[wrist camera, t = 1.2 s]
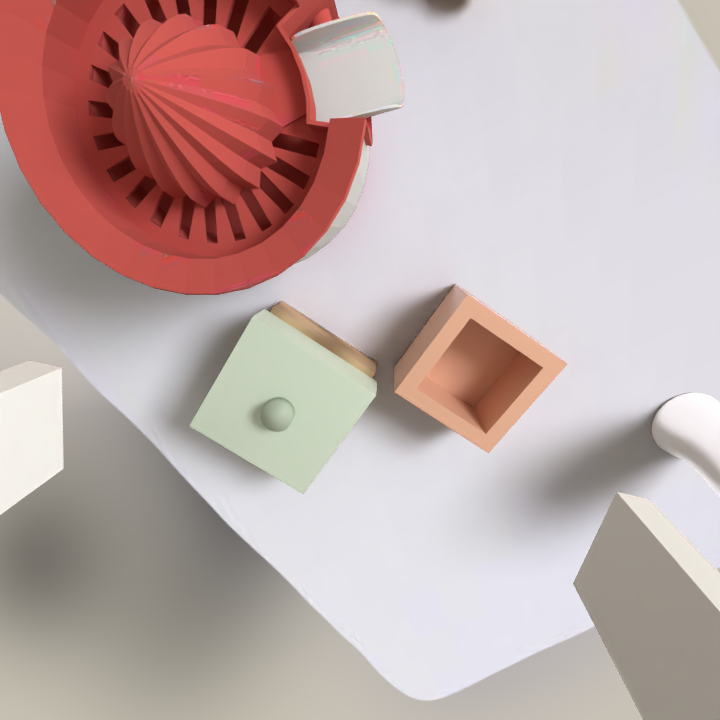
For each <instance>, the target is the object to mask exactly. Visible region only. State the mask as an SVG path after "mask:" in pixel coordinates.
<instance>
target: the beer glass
mask: <svg viewBox="0 0 720 720" xmlns="http://www.w3.org/2000/svg"><path fill="white" fill-rule="evenodd" d="M652 436H653V438H654V440H655V442H656V444H657V445H658V446H659V447H660V448H661V449H663V450H664V451H666V452H668V453H670V454H672V455H674V456H676V457H678V458H680V459H682V460H684V461H685V462H687V463H688V464H689V465H691V466H692V467H693V468H694V469H695V470H696V471H697V472H698V473H699V475H700V476H701V477H702V478H703V479H704V480H705V482H706V483H707V484H708V485H709V487H710V488H711V489H712V490H713V491H714V493H715V494H716V495H717V496H718V497H719V499H720V402H719V401H718V400H717V399H715V398H714V397H712V396H710V395H707V394H703V393H686V394H682V395H679V396H677V397H674V398H672V399H671V400H669V401H668V402H666V403H665V404H664V405H663V406H662V407H661V408H660V409H659V410H658V412H657V413H656V415H655V417H654V419H653V422H652Z"/></svg>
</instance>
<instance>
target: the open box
mask: <svg viewBox="0 0 720 720" xmlns="http://www.w3.org/2000/svg"><path fill="white" fill-rule="evenodd" d="M566 365H567V363H566V362H564V361H563V360H562V359H561V358H559V357H558V356H557V355H555V354H554V353H553V352H551V351H550V350H549V349H547V348H546V347H545V346H543V345H542V344H541V343H540V342H538V341H537V340H535V339H534V338H532V337H531V336H530V335H528V334H527V333H525V332H524V331H522V330H521V329H519V328H518V327H517V326H515V325H514V324H512V323H511V322H509V321H508V320H506V319H505V318H504V317H502V316H501V315H499V314H498V313H496V312H495V311H494V310H492V309H491V308H489V307H488V306H486V305H485V304H483V303H482V302H481V301H479V300H478V299H476V298H475V297H473V296H472V295H470V294H469V293H468V292H466V291H465V290H463V289H462V288H460V287H459V286H458V285H456V284H455V285H454V286H453V287H452V289H451V290H450V291H449V293H448V294H447V295H446V297H445V298H444V300H443V301H442V302H441V304H440V305H439V306H438V308H437V309H436V310H435V312H434V313H433V315H432V316H431V317H430V319H429V320H428V321H427V323H426V324H425V325H424V327H423V328H422V330H421V331H420V332H419V334H418V335H417V336H416V338H415V339H414V340H413V342H412V343H411V345H410V346H409V347H408V349H407V350H406V351H405V353H404V354H403V355H402V357H401V358H400V360H399V361H398V362H397V364H396V365H395V366H394V392H395V393H396V394H398V395H399V396H401V397H402V398H404V399H405V400H407V401H409V402H410V403H412V404H413V405H415V406H416V407H418V408H419V409H421V410H422V411H424V412H426V413H427V414H429V415H430V416H432V417H433V418H435V419H436V420H438V421H439V422H441V423H443V424H444V425H446V426H447V427H449V428H450V429H452V430H453V431H455V432H456V433H458V434H460V435H461V436H463V437H464V438H466V439H467V440H469V441H470V442H472V443H473V444H475V445H477V446H478V447H480V448H481V449H483V450H484V451H486V452H487V453H489V452H490V451H491V450H492V449H493V448H494V446H495V445H496V444H497V443H498V442H499V441H500V440H501V438H502V437H503V436H504V435H505V434H506V433H507V432H508V431H509V429H510V428H511V427H512V426H513V425H514V424H515V423H516V422H517V420H518V419H519V418H520V417H521V416H522V415H523V414H524V412H525V411H526V410H527V409H528V408H529V407H530V406H531V405H532V403H533V402H534V401H535V400H536V399H537V398H538V397H539V396H540V394H541V393H542V392H543V391H544V390H545V389H546V388H547V387H548V385H549V384H550V383H551V382H552V381H553V380H554V379H555V377H556V376H557V375H558V374H559V373H560V372H561V371H562V370H563V368H564V367H565V366H566Z"/></svg>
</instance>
